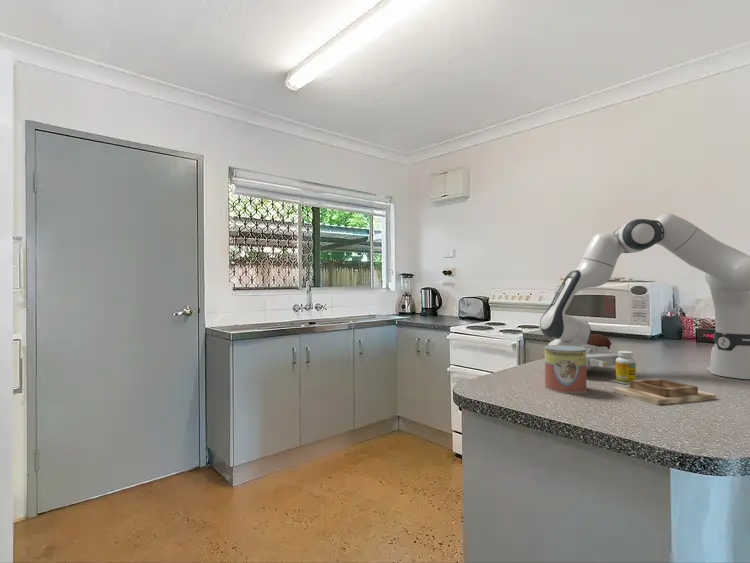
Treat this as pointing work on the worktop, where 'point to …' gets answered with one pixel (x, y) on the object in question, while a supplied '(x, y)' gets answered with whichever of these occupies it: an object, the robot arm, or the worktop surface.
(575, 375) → the canned food
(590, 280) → the robot arm
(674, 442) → the worktop surface
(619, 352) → the supplement bottle
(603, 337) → the muffin
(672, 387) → the wooden tray
